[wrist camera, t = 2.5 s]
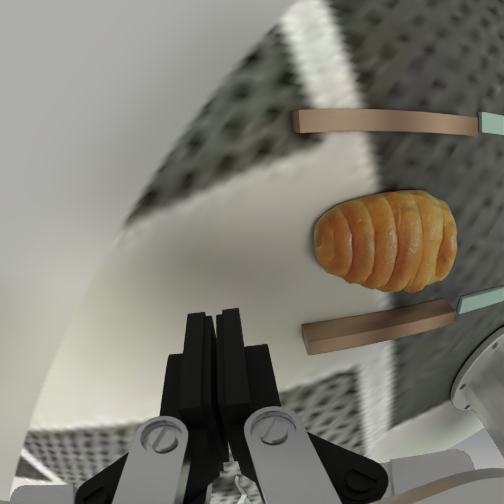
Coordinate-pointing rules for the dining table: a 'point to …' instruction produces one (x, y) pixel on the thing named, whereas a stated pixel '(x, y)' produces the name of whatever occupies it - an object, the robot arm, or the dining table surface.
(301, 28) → the dining table surface
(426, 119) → the chute
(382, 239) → the pastry
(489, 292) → the strips
